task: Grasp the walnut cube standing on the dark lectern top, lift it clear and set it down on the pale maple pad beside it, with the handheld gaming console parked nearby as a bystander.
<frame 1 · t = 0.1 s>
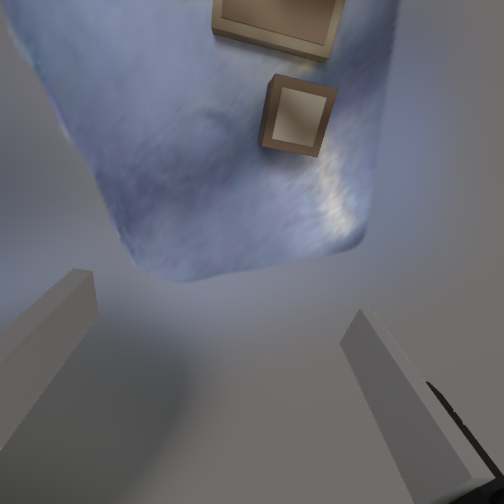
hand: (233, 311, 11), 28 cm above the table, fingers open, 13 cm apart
walnut block: (286, 120, 32), on the table
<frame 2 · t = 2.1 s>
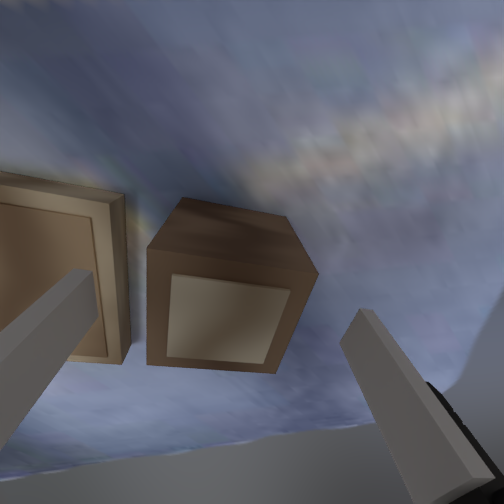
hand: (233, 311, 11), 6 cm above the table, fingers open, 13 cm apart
maple pad: (40, 272, 16), on the table
walnut block: (227, 251, 17), on the table
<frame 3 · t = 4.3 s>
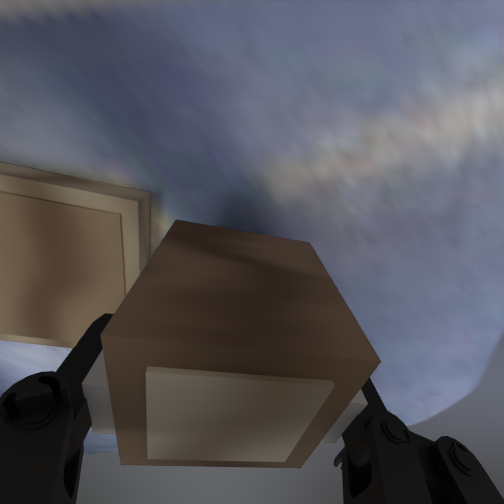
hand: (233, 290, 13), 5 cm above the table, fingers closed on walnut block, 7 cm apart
maple pad: (69, 265, 17), on the table
walnut block: (234, 285, 13), point 4 cm above the table, touching gripper
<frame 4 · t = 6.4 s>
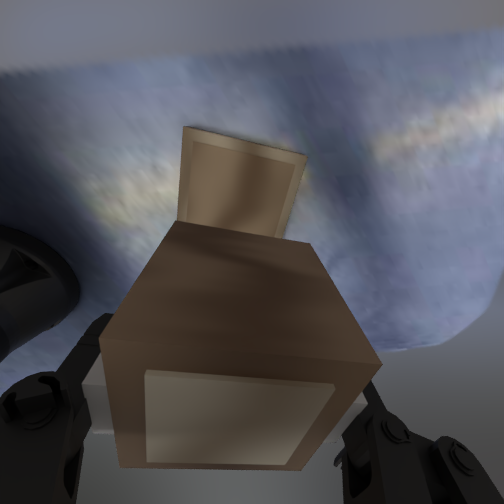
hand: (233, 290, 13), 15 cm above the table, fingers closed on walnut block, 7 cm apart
maple pad: (235, 206, 26), on the table
walnut block: (234, 286, 13), point 15 cm above the table, touching gripper
when the fingers open (2 cm above the table, at t = 8.7 s): walnut block stays where it is, resting on maple pad.
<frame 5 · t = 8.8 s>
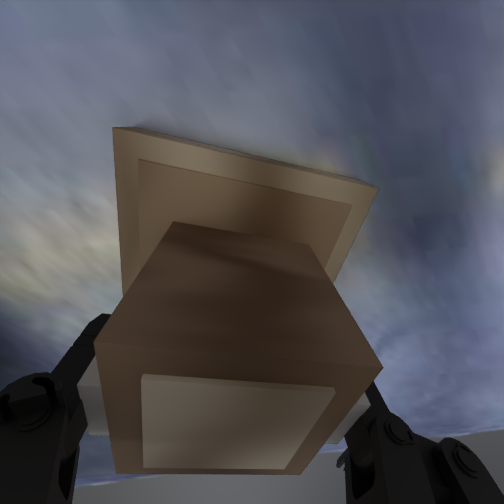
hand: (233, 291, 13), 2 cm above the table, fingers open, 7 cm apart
maple pad: (231, 267, 15), on the table
walnut block: (232, 287, 13), point 2 cm above the table, touching gripper, maple pad
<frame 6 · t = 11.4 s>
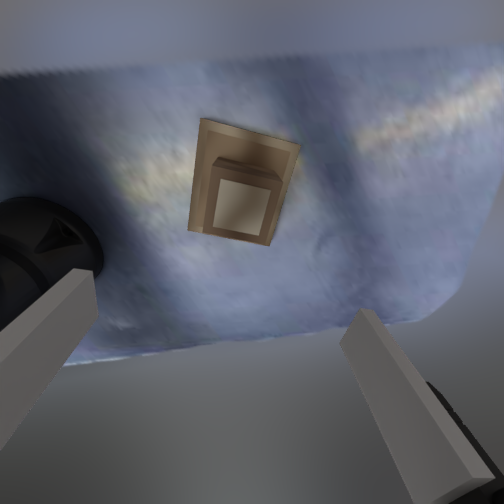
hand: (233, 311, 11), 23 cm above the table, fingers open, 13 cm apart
maple pad: (239, 187, 31), on the table
walnut block: (240, 191, 29), point 2 cm above the table, touching maple pad
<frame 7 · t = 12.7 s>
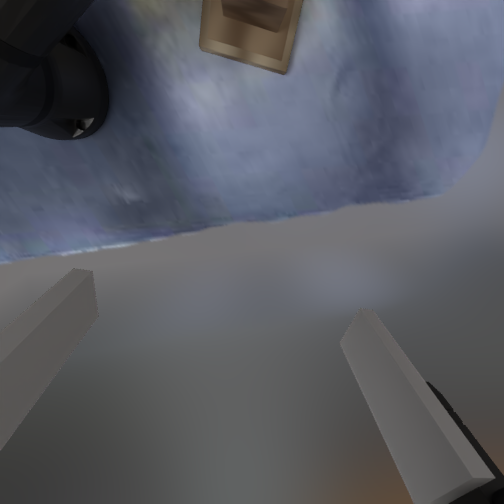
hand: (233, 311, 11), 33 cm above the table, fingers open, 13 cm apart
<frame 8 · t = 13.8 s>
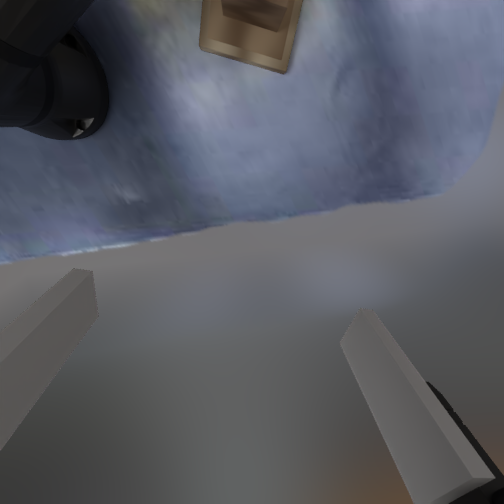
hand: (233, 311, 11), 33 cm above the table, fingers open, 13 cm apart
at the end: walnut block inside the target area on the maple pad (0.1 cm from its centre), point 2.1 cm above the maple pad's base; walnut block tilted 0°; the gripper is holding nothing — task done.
